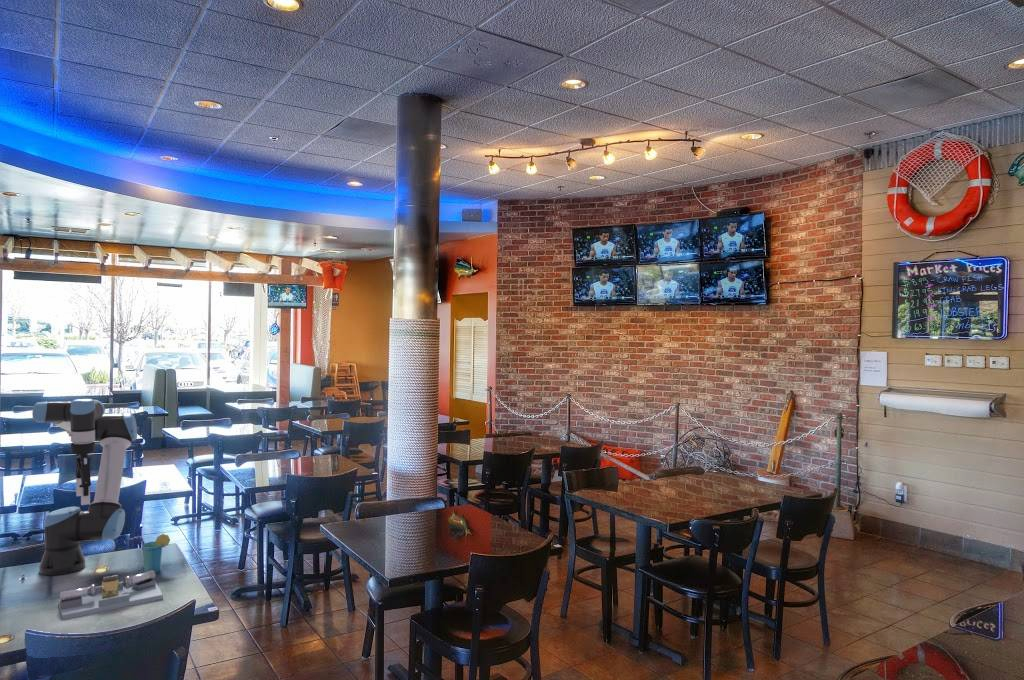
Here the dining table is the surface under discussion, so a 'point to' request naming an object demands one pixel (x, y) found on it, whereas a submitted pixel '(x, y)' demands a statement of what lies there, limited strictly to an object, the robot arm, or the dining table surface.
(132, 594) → the bench
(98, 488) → the robot arm
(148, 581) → the shaft
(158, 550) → the cup
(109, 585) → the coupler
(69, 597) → the shaft
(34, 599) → the dining table surface
